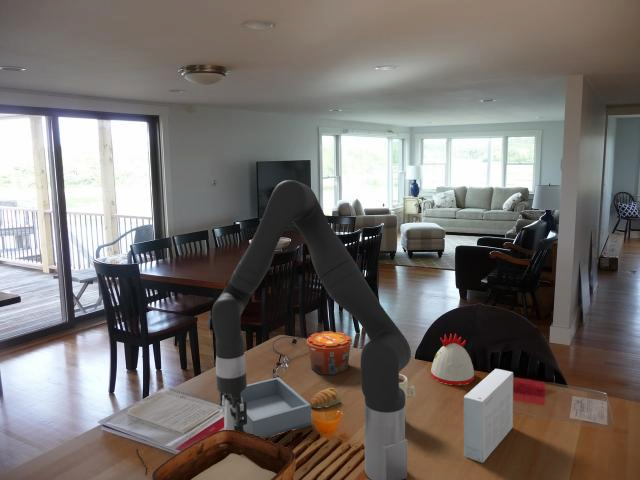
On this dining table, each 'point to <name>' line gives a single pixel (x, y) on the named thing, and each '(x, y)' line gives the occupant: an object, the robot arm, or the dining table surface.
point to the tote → (274, 408)
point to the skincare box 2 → (488, 414)
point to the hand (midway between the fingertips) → (233, 430)
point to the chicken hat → (452, 363)
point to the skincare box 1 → (228, 417)
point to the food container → (329, 352)
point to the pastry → (325, 398)
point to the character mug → (406, 387)
